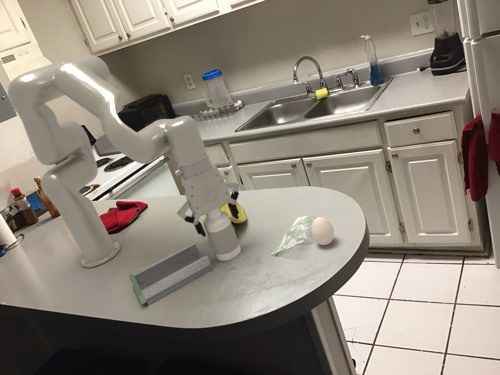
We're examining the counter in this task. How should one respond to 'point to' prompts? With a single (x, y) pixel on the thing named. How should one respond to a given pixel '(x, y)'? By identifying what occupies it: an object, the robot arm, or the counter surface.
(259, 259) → the counter surface
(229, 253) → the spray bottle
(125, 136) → the robot arm
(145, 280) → the rail cradle
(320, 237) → the egg
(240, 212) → the plastic component
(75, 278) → the counter surface
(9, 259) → the counter surface
